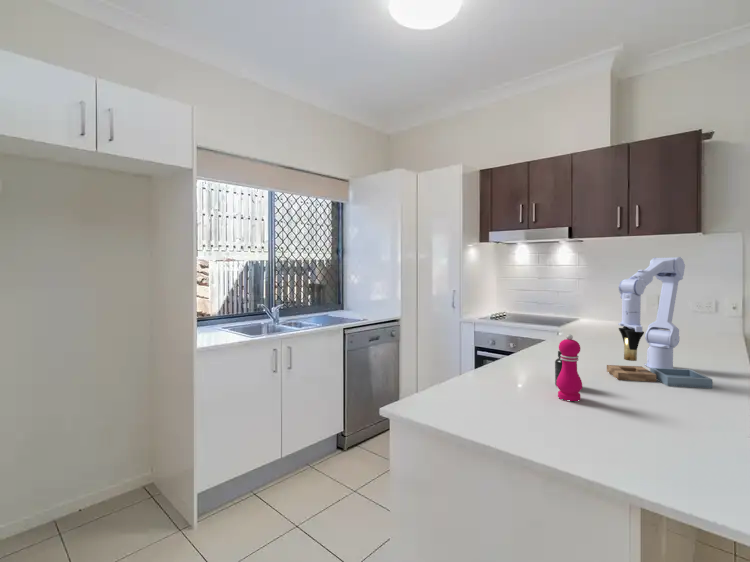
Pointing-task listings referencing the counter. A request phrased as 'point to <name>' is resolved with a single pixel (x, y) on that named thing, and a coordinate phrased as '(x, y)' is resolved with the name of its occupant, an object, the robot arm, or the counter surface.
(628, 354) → the brass peg
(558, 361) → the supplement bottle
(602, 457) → the counter surface
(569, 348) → the pepper mill
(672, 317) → the robot arm
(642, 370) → the walnut socket block
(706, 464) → the counter surface
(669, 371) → the slate-blue tray
